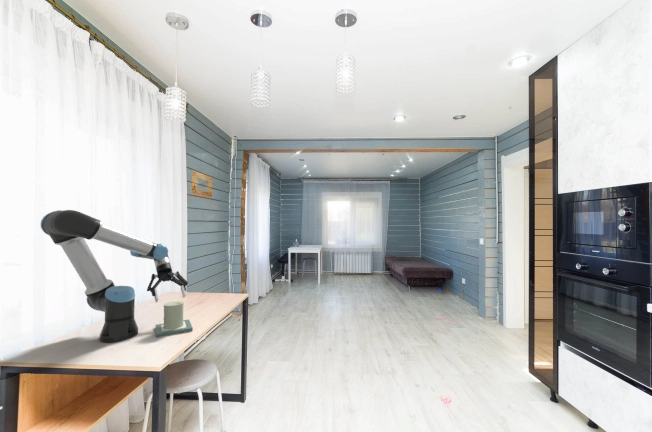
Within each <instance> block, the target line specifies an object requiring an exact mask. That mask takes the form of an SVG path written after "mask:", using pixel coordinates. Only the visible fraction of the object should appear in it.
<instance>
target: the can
mask: <svg viewBox="0 0 652 432" xmlns="http://www.w3.org/2000/svg"><path fill="white" fill-rule="evenodd" d="M183 320H184V301H178V300H177V301H170V302H166V303H164V304H163V323H164V327H163V328H164V329H174V328H179V327H181V326H183V325H184V324H183Z"/></svg>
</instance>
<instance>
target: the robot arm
mask: <svg viewBox="0 0 652 432" xmlns="http://www.w3.org/2000/svg"><path fill="white" fill-rule="evenodd" d="M40 229H41V230H42V232H43V233H44V234H46V235H48V236H49V237H50V239H51V241H52V242H53V243H54V244H55V245H58V246H61V248H62V250H63V252H64V253H65V255H66V257H67V258H68V260H69V261H70V263H71V265H72V266H73V268H74V270H75V271H76V273H77V275H78V277H79V278H80V280H81V281H82V283H83V286H85V288H86V289H85V290H84V295H85V296H86V304H87V305H88V307H90V308H91V309H93V310H95V311H98V312H99V311H100V312H103V313H104V323H103V327H102V329H101V331H100V334H99V341H100V342H102V343H115V342H116V343H117V342H121V341H125V340H129V339H132V338H135V337H136V336H138V334H139V327H138V325H137V322H136V319H135V307H136V306H135V302H136V301H135V300H136V298H135V297H136V294H135V292H136V291H135V288H134V287H132V286H130V285H115V283H114V282H113V280H112V279H108V278H107V277H106V276H105V273H104V271H103V269H102V268H101V266H100V264H99V263H98V261H97V259H96V257H95V256H94V254H93V252H92V250H91V249H90V247H89V245H88V243H87V241H86V240H93V239H94V240H96V241H99V242H102V243H106V244H108V245H112V246H115V247H117V248H121V249H124V250H127V251H129V252H130V255H131V256H133V257H136V258H140V259H141V258H142V259H148V260H153V261H154V264H155V271H156V274H155V273H152V274H151V277H150V282H149V284H148V286H147V288H146V292H150V293H151V296H152V297H154V300H155V303H158V301H159V297H158V296H159V295H158V292H157V287H158V286H159V285H160V283H162V282H171V283H172V282H173V283H174V284H177V286H179V287H180V292H181V294H182V295H181V296H182V298H183V299H184V298H185V297H186V296H187V294H186V291H187V288H186V287H187V286H188V284H189V281H187V280H186V279H185V278H184V277H183V275H181V274H180V271H178V270H177V271H176V272H173V270H172V269H173V268H172V265H171V262H170V258H169V249H168V247H167V246H166V245H165V244H163V243H154V242H151V241H150V240H146V239H144V238H141V237H138V236H136V235H133V234H132V233H128V232H126V231H123V230H120V229H117V228H114V227H112V226H110V225H107V224H104V223H102V220H100V219H97V218H95V217H92V216H90V215H88V214H86V213H83V212H81V211H78V210H74V209H73V210H72V209H66V210H55V211H54V210H53V211H51V212H49V213H47V214H45V215H44V216H43V217H42V218H41V221H40ZM156 278H157V281H156V282H155V284H153V283H154V281H155V279H156ZM152 285H153V286H152Z"/></svg>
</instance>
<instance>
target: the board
mask: <svg viewBox="0 0 652 432" xmlns="http://www.w3.org/2000/svg"><path fill="white" fill-rule="evenodd" d="M183 324H184V325H183V326H181V327H179V328H174V329H164V328H163V327H164V322H163V323H158V324H155V327H154V329H155V338H161V337H166V336H171V335H178V334H183V333H189V332H193V326H192V323H191V322H190V319H183Z"/></svg>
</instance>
